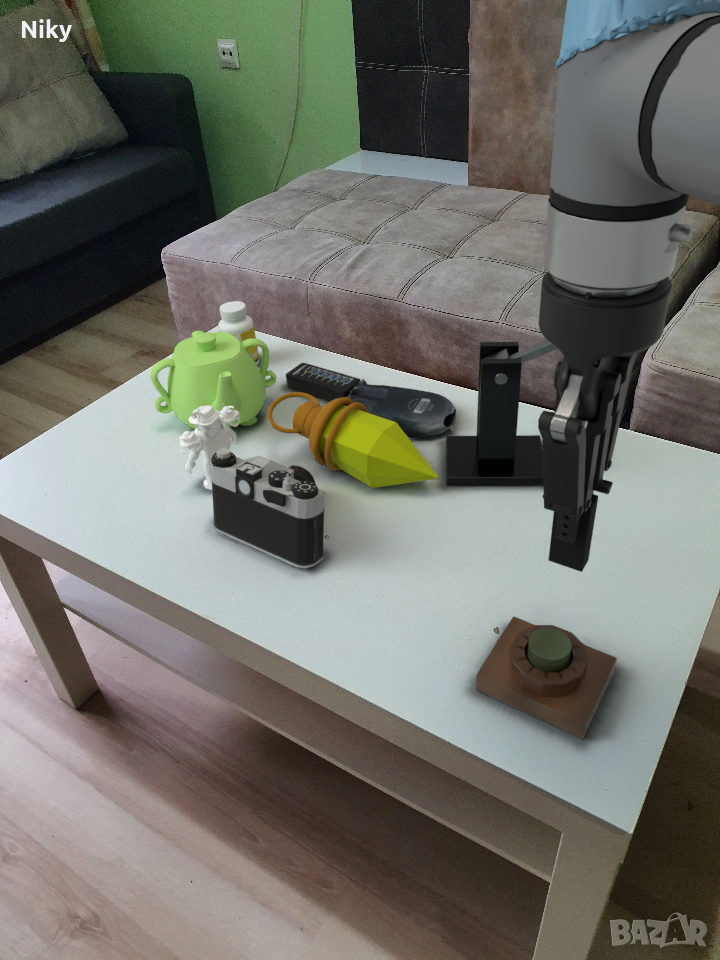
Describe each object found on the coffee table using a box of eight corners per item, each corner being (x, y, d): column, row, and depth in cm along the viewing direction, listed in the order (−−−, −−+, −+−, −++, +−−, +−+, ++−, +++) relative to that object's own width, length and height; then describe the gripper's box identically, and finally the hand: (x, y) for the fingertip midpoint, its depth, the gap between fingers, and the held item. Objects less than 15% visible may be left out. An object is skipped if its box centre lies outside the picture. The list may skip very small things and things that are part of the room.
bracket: (539, 443, 98) (550, 332, 88) (546, 486, 91) (559, 371, 81) (446, 443, 99) (446, 334, 90) (446, 485, 92) (447, 372, 83)
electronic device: (341, 438, 104) (444, 443, 98) (335, 400, 102) (440, 403, 96) (367, 411, 112) (465, 414, 105) (362, 375, 109) (461, 377, 103)
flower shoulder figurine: (204, 504, 92) (184, 422, 85) (183, 493, 94) (161, 412, 87) (255, 467, 98) (240, 387, 90) (234, 458, 100) (218, 378, 92)
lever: (614, 327, 84) (603, 297, 82) (621, 343, 81) (609, 313, 79) (493, 375, 90) (480, 348, 88) (495, 393, 86) (482, 365, 84)
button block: (613, 673, 69) (620, 644, 66) (582, 739, 64) (588, 711, 61) (511, 631, 74) (514, 602, 71) (475, 690, 68) (476, 661, 66)
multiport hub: (345, 406, 108) (344, 392, 107) (286, 387, 113) (284, 374, 112) (362, 392, 111) (361, 378, 109) (304, 374, 116) (302, 361, 115)
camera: (358, 533, 88) (361, 456, 83) (301, 576, 80) (301, 494, 75) (262, 494, 95) (260, 421, 90) (201, 530, 87) (195, 453, 82)
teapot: (300, 404, 109) (289, 324, 102) (242, 456, 100) (226, 373, 92) (211, 382, 116) (195, 306, 108) (150, 429, 106) (128, 349, 99)
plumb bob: (457, 474, 95) (297, 404, 104) (459, 427, 87) (287, 356, 97) (421, 527, 90) (258, 449, 100) (419, 481, 83) (243, 402, 93)
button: (575, 650, 67) (577, 637, 66) (560, 679, 64) (562, 665, 63) (537, 634, 68) (538, 621, 67) (520, 662, 66) (522, 649, 65)
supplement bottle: (259, 353, 123) (250, 297, 117) (260, 369, 118) (250, 311, 112) (226, 357, 122) (215, 301, 116) (225, 373, 118) (214, 316, 112)
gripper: (637, 328, 39) (586, 633, 53) (699, 244, 48) (641, 527, 62) (503, 304, 43) (489, 596, 57) (583, 229, 51) (553, 500, 65)
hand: (568, 560), depth 59 cm, fingers closed
